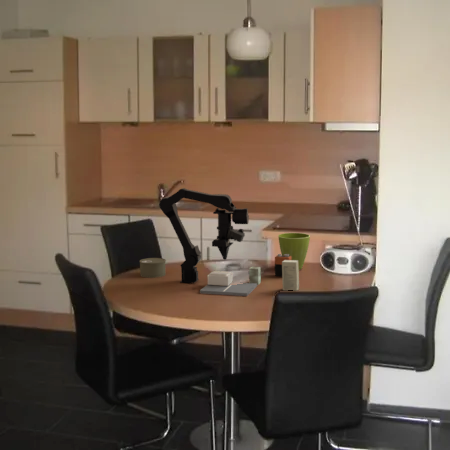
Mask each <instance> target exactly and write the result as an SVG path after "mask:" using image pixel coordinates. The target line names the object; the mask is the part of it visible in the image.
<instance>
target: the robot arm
mask: <svg viewBox="0 0 450 450" xmlns="http://www.w3.org/2000/svg"><path fill="white" fill-rule="evenodd" d="M183 199H186V200H191V201H196V202H201V203H206V204H210V205H212V206H214V207H215V210H214V211H213V212H212V213H213V215H217V226H216V230H217V236H216V238H215V239H213V240H212V241H211V247H217V249H218V251H219V253H220V255H221V257H222V258H223V260H227V258H228V254H229V250H230V248H231V246H232V245H234V242H231V240H233V241H236V242H239V243H241V242H243V240H244V238H245V236H246V235H245V234H246V233H245V232H244V229H243V228H239V229H234V226H233V225H232V223H234V224H235V225H248V224H249V221H250V220H249V219H250V217H249V216H250V215H249V212H248V211H249V209H248V208H246V207H245V208H237V207H236V206H235V204H234V203H233V200H232V197H231V196H230V195H229V194H224V193H223V194H222V193H213V194H211V193H207V192H201V191H198V190H193V189H192V190H191V189H189V188H185V187H182V188H180V189H179V190H178V191H176V192H175V193H173V194H172V195H170V196H165V197H164V198H162V199H160V200H159V204H158V205H159V208H160V210H161V212H162V213H163V214H164V215H165V216H166V218H168V219H169V222H170V224H171V226H172V228H173V230H174V232H175V234H176V236H177V238H178V239H177V240H179V243H180V244H181V247H182V250H183V257H184V261H183V262H182V263H181V264H180V268H181V271H180V272H181V280H180V283H182V284H183V283H185V284H187V283H188V284H195V283H196V282H198V281H199V271H198V267H197V265H198V263H200V261H201V260H202V251H201V250H200V248H199V245H198V244H197V245H194V244H193V243H192V241H191V239H190V236H189V235H188V233H187V230H186V228H185V226H184V224H183V222H182V220H181V218H180V216H179V213H178V207H177V203H179V201H182V200H183Z"/></svg>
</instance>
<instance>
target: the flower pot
mask: <svg viewBox="0 0 450 450" xmlns="http://www.w3.org/2000/svg"><path fill="white" fill-rule="evenodd" d="M277 237H278V244H279V249H280V253H281V255H284V254H289V256H291V257H292V260H298V265H299V271H300V270H302V269H303V265H304V264H305V260H306V258H307V254H308V250H309V245H310V239H311V235H310V234H307V233H303V232H286V233H281V234H278V236H277Z"/></svg>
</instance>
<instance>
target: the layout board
mask: <svg viewBox="0 0 450 450" xmlns="http://www.w3.org/2000/svg"><path fill="white" fill-rule="evenodd" d="M242 283H243V284H237V285H228V286H224V285H208V284H206V285H205V286H204V287H202V288H201V289H200V290H199V293H200V294H205V295H208V294H209V295H221V296H222V295H223V296H237V297H239V296H240V297H248V296H249V295H250V294H251V293H252V292H253V291H254V290H255V289H256V288H257V287H258V285H257V283H249V282H242Z"/></svg>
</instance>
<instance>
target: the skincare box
mask: <svg viewBox="0 0 450 450" xmlns="http://www.w3.org/2000/svg"><path fill="white" fill-rule="evenodd" d="M299 272H300V270H299V265H298V260H284V261H283V262H282V277H281V278H282V291H288V290H293V291H292V292H297V291H298V290H299V289H300V278H299V277H300V273H299Z"/></svg>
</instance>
